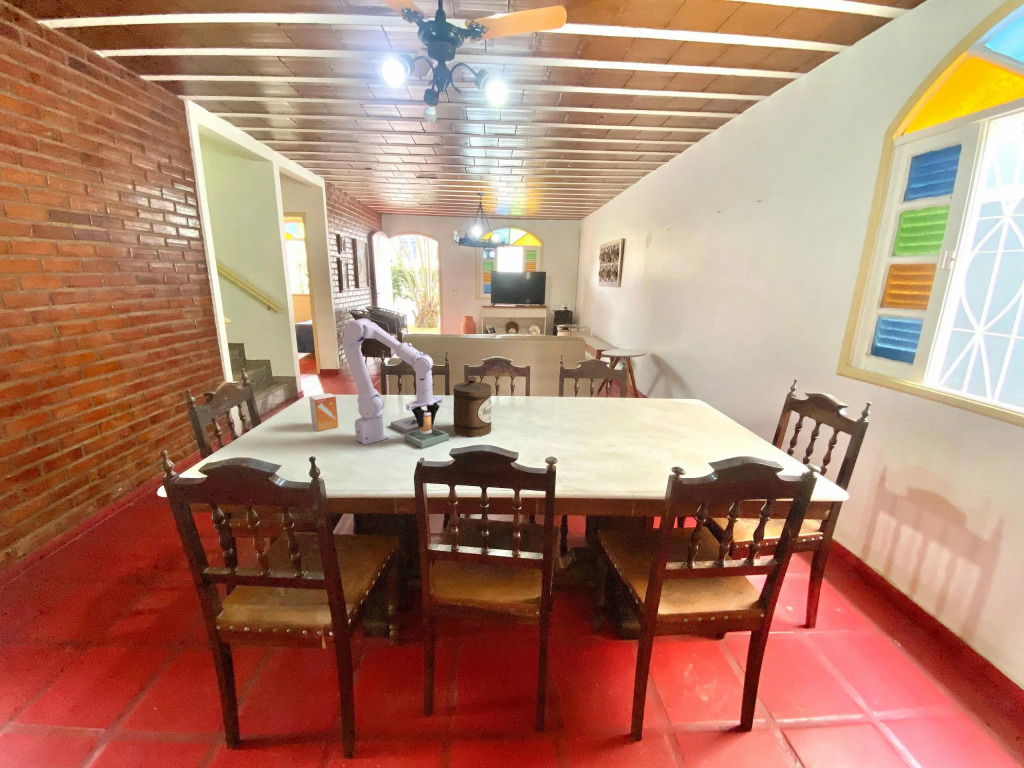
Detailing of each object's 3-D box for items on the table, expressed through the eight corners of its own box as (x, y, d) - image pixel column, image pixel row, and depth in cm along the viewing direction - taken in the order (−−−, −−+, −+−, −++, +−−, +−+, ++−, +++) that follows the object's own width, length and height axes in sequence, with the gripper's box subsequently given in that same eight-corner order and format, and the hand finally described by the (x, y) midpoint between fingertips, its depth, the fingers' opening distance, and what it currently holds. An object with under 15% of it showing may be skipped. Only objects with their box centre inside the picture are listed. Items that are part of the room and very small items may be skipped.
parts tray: (422, 449, 144) (421, 442, 144) (404, 440, 152) (403, 433, 151) (448, 440, 152) (448, 434, 152) (430, 432, 160) (430, 426, 160)
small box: (318, 432, 159) (314, 399, 156) (312, 427, 163) (308, 396, 160) (339, 427, 164) (336, 395, 161) (332, 423, 169) (329, 392, 166)
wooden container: (490, 437, 156) (490, 381, 150) (451, 437, 156) (450, 380, 150) (492, 424, 170) (492, 372, 165) (456, 424, 170) (455, 372, 165)
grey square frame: (407, 434, 158) (406, 429, 157) (390, 426, 166) (390, 422, 165) (433, 427, 166) (432, 422, 165) (416, 419, 174) (416, 415, 174)
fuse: (424, 435, 149) (423, 414, 147) (418, 432, 152) (417, 411, 150) (434, 432, 152) (433, 412, 150) (427, 429, 155) (427, 409, 152)
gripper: (413, 395, 140) (415, 432, 143) (447, 387, 150) (448, 422, 153) (402, 391, 144) (404, 427, 148) (436, 384, 155) (437, 418, 158)
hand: (426, 424), depth 151 cm, fingers closed on fuse, 4 cm apart
